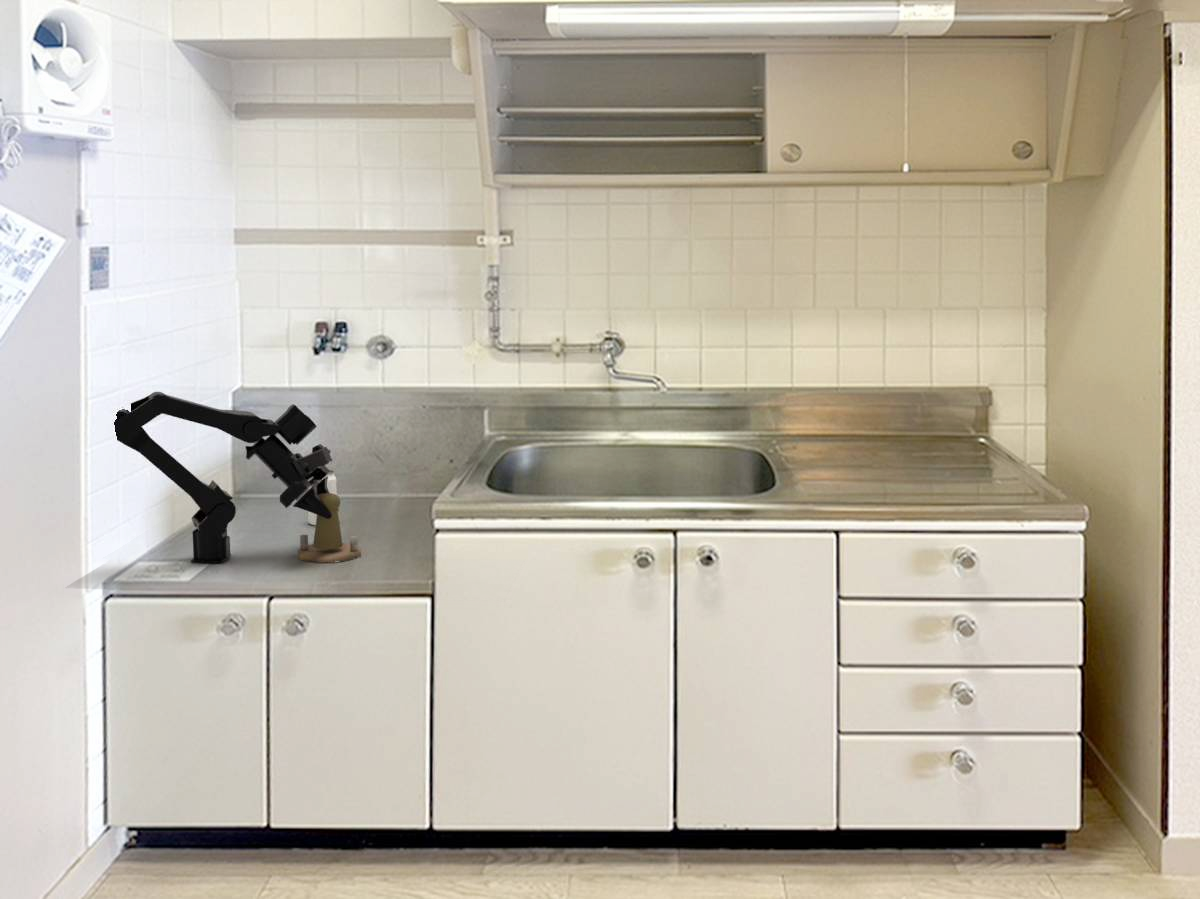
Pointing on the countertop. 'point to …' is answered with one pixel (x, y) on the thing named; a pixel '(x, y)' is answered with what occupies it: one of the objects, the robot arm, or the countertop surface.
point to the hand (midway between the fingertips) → (333, 514)
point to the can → (332, 489)
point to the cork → (328, 524)
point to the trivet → (328, 551)
